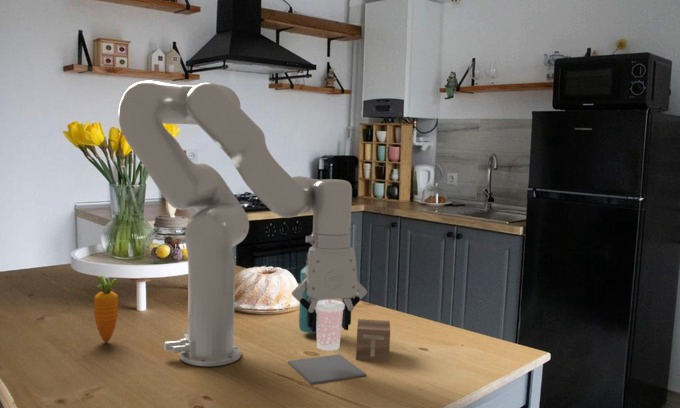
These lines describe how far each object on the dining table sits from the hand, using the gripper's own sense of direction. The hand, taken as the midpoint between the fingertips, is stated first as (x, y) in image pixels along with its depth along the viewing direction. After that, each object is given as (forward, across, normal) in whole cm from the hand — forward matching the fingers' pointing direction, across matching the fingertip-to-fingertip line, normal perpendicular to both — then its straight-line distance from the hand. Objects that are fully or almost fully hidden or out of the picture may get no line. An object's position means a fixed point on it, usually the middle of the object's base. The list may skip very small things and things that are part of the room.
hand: (328, 328), depth 129 cm
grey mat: (+9, 0, 0) cm, 9 cm away
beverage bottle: (+9, +2, +22) cm, 24 cm away
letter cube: (+9, +12, +6) cm, 16 cm away
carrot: (+8, -44, +23) cm, 51 cm away
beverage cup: (+4, 0, 0) cm, 4 cm away
